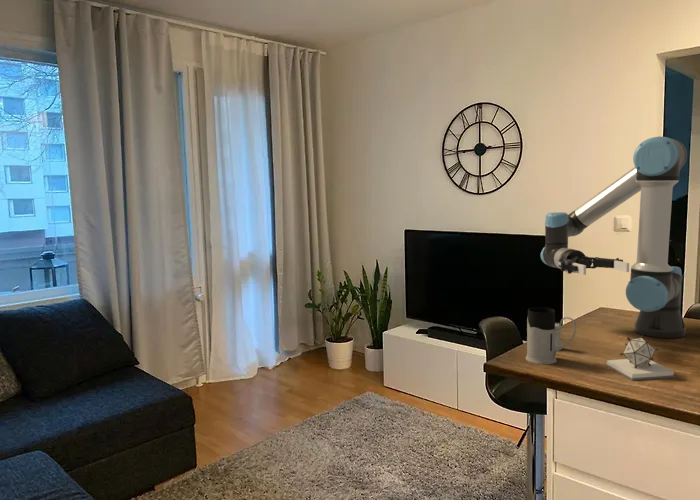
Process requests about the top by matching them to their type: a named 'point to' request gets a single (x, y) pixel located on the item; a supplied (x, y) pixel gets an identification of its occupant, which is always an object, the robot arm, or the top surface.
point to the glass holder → (542, 335)
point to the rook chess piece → (557, 338)
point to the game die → (638, 351)
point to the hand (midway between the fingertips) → (606, 268)
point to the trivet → (640, 370)
